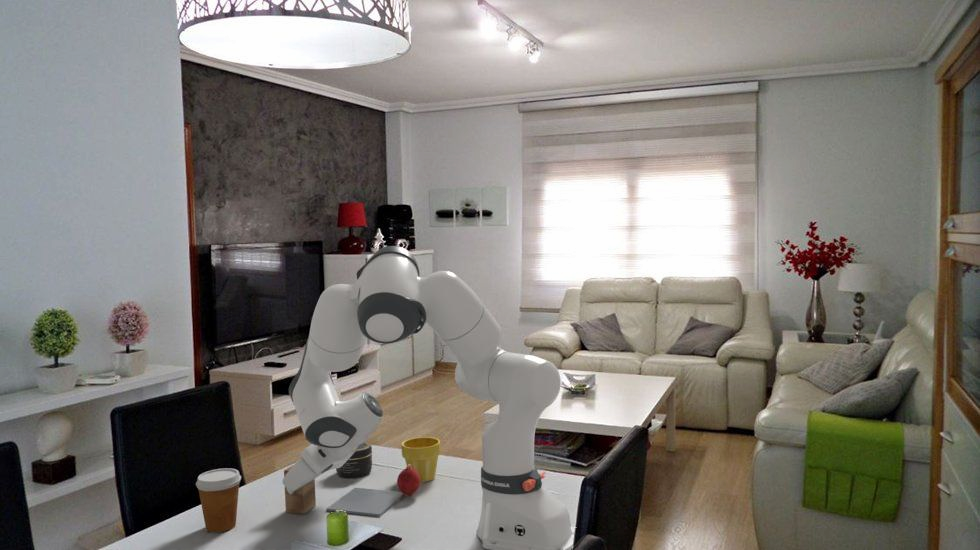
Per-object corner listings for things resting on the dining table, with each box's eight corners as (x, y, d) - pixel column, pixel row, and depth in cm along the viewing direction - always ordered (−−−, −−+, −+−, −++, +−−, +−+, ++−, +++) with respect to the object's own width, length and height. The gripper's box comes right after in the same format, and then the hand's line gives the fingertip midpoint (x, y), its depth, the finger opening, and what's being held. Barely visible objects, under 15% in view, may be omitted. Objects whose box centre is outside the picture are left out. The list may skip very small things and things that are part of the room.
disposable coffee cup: (216, 539, 148) (213, 485, 147) (189, 530, 153) (186, 477, 152) (252, 523, 156) (250, 471, 155) (225, 515, 161) (223, 465, 160)
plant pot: (396, 476, 184) (394, 441, 184) (430, 469, 190) (429, 434, 189) (413, 488, 176) (412, 450, 175) (448, 479, 181) (447, 443, 181)
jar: (368, 479, 183) (367, 451, 183) (331, 480, 183) (330, 451, 183) (375, 466, 193) (374, 440, 193) (340, 467, 193) (339, 440, 193)
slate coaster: (405, 494, 171) (405, 492, 171) (380, 516, 158) (380, 514, 158) (355, 489, 175) (355, 487, 175) (326, 511, 162) (326, 508, 162)
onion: (416, 501, 166) (416, 469, 166) (393, 500, 167) (394, 467, 167) (423, 492, 172) (423, 461, 172) (401, 491, 173) (401, 460, 173)
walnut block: (315, 505, 165) (314, 464, 165) (304, 514, 160) (302, 471, 160) (297, 504, 167) (295, 463, 166) (285, 512, 162) (283, 470, 161)
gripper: (345, 426, 170) (312, 462, 174) (299, 451, 151) (263, 491, 154) (362, 445, 169) (329, 481, 173) (318, 473, 150) (281, 513, 153)
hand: (297, 486), depth 163 cm, fingers closed on walnut block, 5 cm apart
